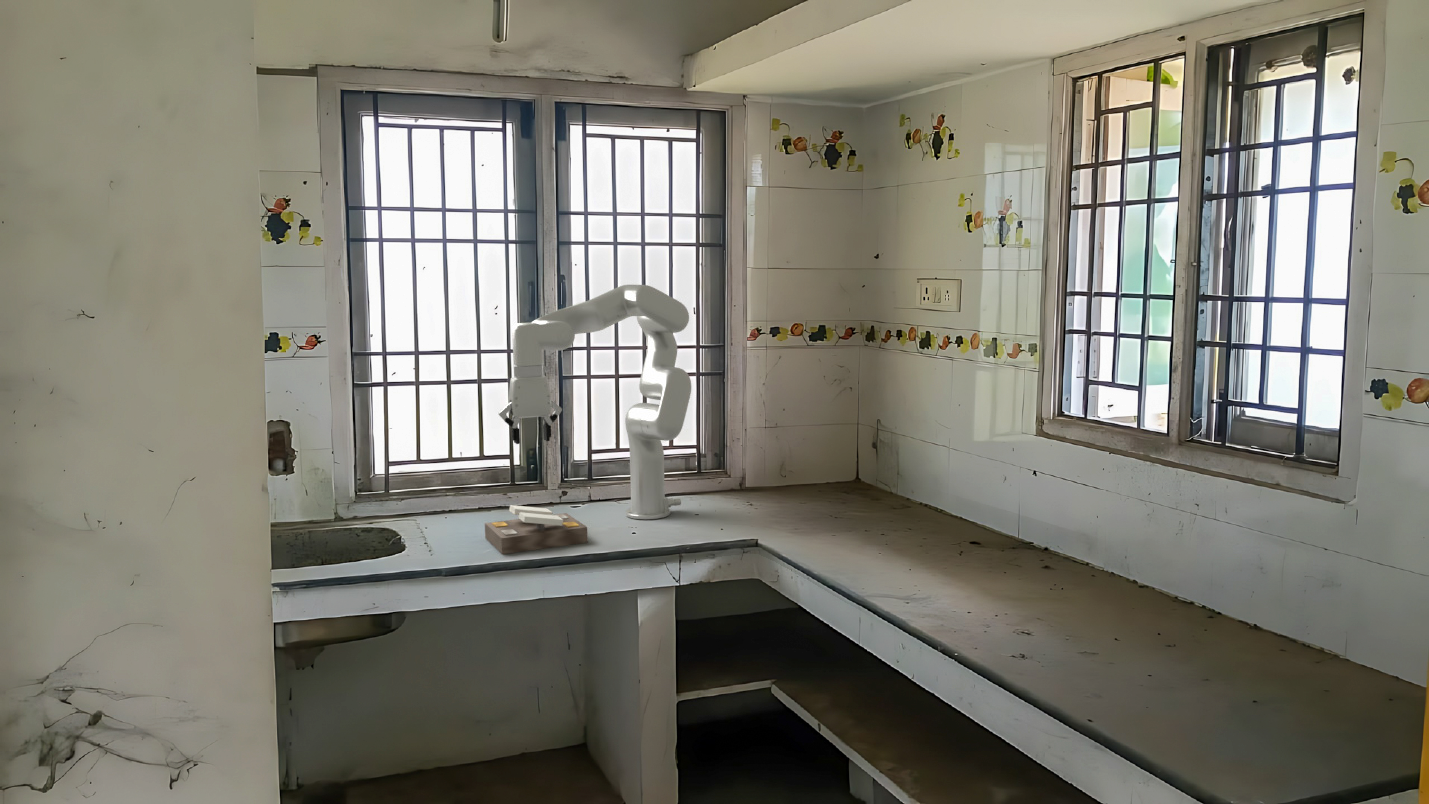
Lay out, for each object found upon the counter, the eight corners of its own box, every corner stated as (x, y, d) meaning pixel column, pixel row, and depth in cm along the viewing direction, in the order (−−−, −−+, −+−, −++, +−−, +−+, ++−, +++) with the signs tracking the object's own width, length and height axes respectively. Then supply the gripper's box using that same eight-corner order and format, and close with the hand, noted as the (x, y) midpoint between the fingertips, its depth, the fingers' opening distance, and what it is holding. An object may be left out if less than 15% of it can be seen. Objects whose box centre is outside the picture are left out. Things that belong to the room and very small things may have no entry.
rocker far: (546, 514, 274) (546, 508, 274) (551, 518, 270) (552, 512, 270) (509, 510, 270) (510, 505, 270) (514, 514, 265) (515, 508, 265)
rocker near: (556, 521, 266) (557, 515, 266) (562, 525, 262) (563, 519, 262) (518, 518, 262) (519, 512, 262) (524, 522, 257) (525, 516, 257)
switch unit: (566, 527, 279) (566, 507, 278) (587, 542, 264) (586, 521, 263) (485, 538, 269) (484, 517, 269) (502, 554, 254) (501, 532, 253)
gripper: (558, 368, 268) (560, 436, 270) (491, 372, 260) (494, 442, 263) (567, 371, 261) (569, 441, 263) (498, 375, 254) (501, 447, 256)
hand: (531, 441), depth 263 cm, fingers open, 7 cm apart
